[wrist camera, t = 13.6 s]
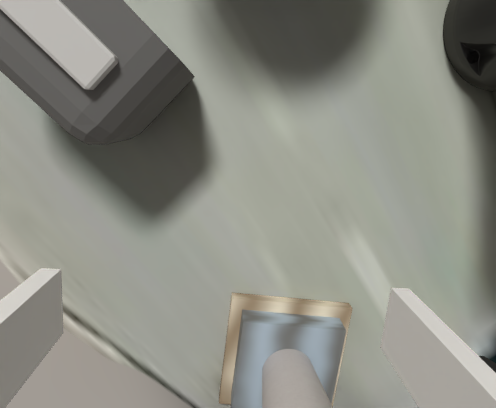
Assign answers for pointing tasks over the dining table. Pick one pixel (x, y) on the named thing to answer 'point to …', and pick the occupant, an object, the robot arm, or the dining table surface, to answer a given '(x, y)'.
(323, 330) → the pedestal
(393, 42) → the dining table surface
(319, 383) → the coffee cup
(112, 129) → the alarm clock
